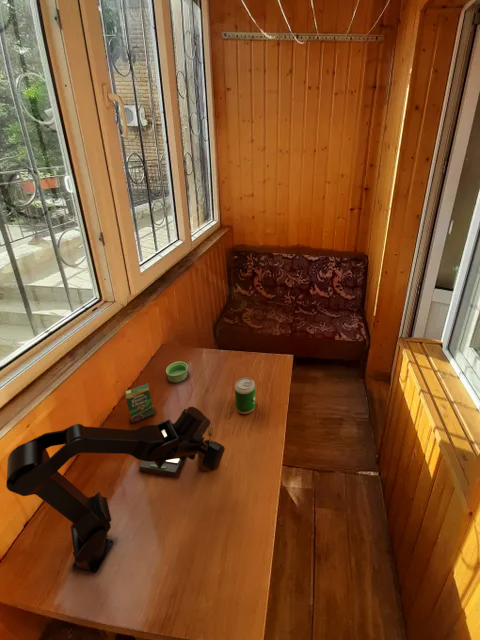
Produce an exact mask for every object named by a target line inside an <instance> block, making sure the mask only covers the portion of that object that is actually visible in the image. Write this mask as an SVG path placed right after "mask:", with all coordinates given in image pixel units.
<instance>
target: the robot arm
mask: <svg viewBox="0 0 480 640" xmlns="http://www.w3.org/2000/svg"><path fill="white" fill-rule="evenodd" d="M209 426H211V420H210V419H209V418H208V417H207V416H206V415H204V413H203V412H202V411H201V410H200V409H198V408H197V407H194V406H188V407H187V408H184V409H183V410H182V411H181V413H180V415H179V417H177V420H175V422H174V423H172V421H171V419H167V420H163V421H160V422H158V423H156V424H147V425H141V426H139V427H138V428H136V429H125V428H110V427H97V426H84V425H83V424H82V423H75V424H73V425H70V426H68V427H65V429H62V430H57V431H56V430H55V431H50V432H45V433H42V434H41V435H39V436H37V437H35V438H32V439H31V440H29V441H26V442H24V443H22V444H19V445H17V447H15V448H14V449H12V451H11V452H10V453H9V454H8V457H7V465H6V469H7V470H6V483H5V487H6V489H7V490H8V491H9V492H11V493H14V494H17V495H19V496H21V497H28V496H33V495H36V496H37V497H38V498H39V499H41V500H42V501H44V503H46V504H48V506H50V507H51V508H52V509H54V510H55V511H57V512H58V513H59V514H60V515H61V516H62V517H64V518H66V520H68V521H70V522H71V523H72V524H71V526H70V533H71V541H72V549H73V551H72V556H73V558H74V562H73V563H72V569H73V570H77V571H81V572H86V573H91V574H96V573H98V571H99V570H100V568H101V566H102V565H103V563H104V561H105V559H106V557H107V555H108V553H109V552H110V550H111V548H112V546H113V544H114V539H111V538H108V537H109V534H108V533H109V532H110V530H111V527H112V526H111V522H112V517H111V512H110V508H109V503H108V499H107V497H106V496H103V495H102V494H101V492H100V491H98V492H96V493H95V495H93V496H89V497H88V496H87V495H85V494H84V493H83V492H82V491H81V490H80V489H79V488H77V487H76V486H75V484H73V483H72V482H71V481H70V480H69V479H67V478H66V477H65V476H64V475H63V474H62V473H60V472H59V470H60V469H61V468H62V467H63V466H65V464H66V463H67V462H68V461H69V460H70V459H72V458H74V457H76V456H77V455H79V454H116V455H117V454H124V455H129V456H132V457H134V458H135V459H137V461H141V462H142V461H147V462H152V461H154V462H155V464H156V465H157V467H158V468H161V467H162V465H163V464H164V463H165V461H166V460H172V459H180V460H182V461H183V462H186V461H187V458H188V459H190V460H192V461H194V460H195V459H196V457H197V455H198V453H199V452H201V453H203V454H204V455H205V456H204V459H203V461H202V465H203V466H204V467H206V468H208V469H209V470H208V471H211V472H213V471H216V470H218V469H219V466H220V463H221V461H222V459H223V456H224V453H225V450H226V448H225V446H224V445H222V444H220V443H219V442H217V441H213V442H211V443H210V445H207V444H206V443H204V442H203V441H204V440H205V437H204V435H205V433H206V431H208V429H209ZM162 430H165V432H166V434H167V436H166V437H165V438H164V436H163V433H162ZM61 445H63V446H61ZM54 446H61V447H60V448H59V449H58V450H57V451H56V452H55V453H54V454H53V455H51V456H50V453H49V452H48V450H47V449H48V448H50V447H54ZM202 446H203V447H202ZM204 447H205V448H204Z"/></svg>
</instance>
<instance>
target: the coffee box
mask: <svg viewBox="0 0 480 640" xmlns="http://www.w3.org/2000/svg"><path fill="white" fill-rule="evenodd" d="M124 396H125V401H126V404H127V408H128V413H129V416H130V420H131V423H132V424H133V423H135V422H139V421H141V420H143V419H146V418H148V417H151V416H153V415H155V409H154V405H153V401H152V396H151V390H150V387H149V383H148V382H147V383H144V384H141V385H139V386H136V387H133V388H130V389H128V390H126V391H124Z"/></svg>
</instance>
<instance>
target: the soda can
mask: <svg viewBox="0 0 480 640" xmlns="http://www.w3.org/2000/svg"><path fill="white" fill-rule="evenodd" d="M234 395H235V396H234V398H235V409H236V410H237V412H238V413H240V414H243V415H246V414H250V413H252V412H253V411H254V410H255V408H256V404H257V403H256V382H255V381H254V380H253V379H252V378H250V377H241V378H240V379H238V380H237V381H236V382H235V384H234Z"/></svg>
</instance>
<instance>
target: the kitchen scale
mask: <svg viewBox="0 0 480 640" xmlns="http://www.w3.org/2000/svg"><path fill="white" fill-rule="evenodd" d="M162 433H163V436H164V438H165V437H166V436H167V434H166V432H165V430H162ZM183 463H184V461H182V460H180V459H172V460H166V461H165V463H164V464H163V465H162V467H161V468H158V467H157V465H156V464H155V462H154V461H152V462H147V461H142V460H141V462H140V464H139V465H138V467H139V468H138V469H139V471H140V472H143V473H149V474H150V473H151V474H156V475H163V476H169V477H175V478H176V477H177V476H178V473H179V472H180V469H182V466H183Z"/></svg>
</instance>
